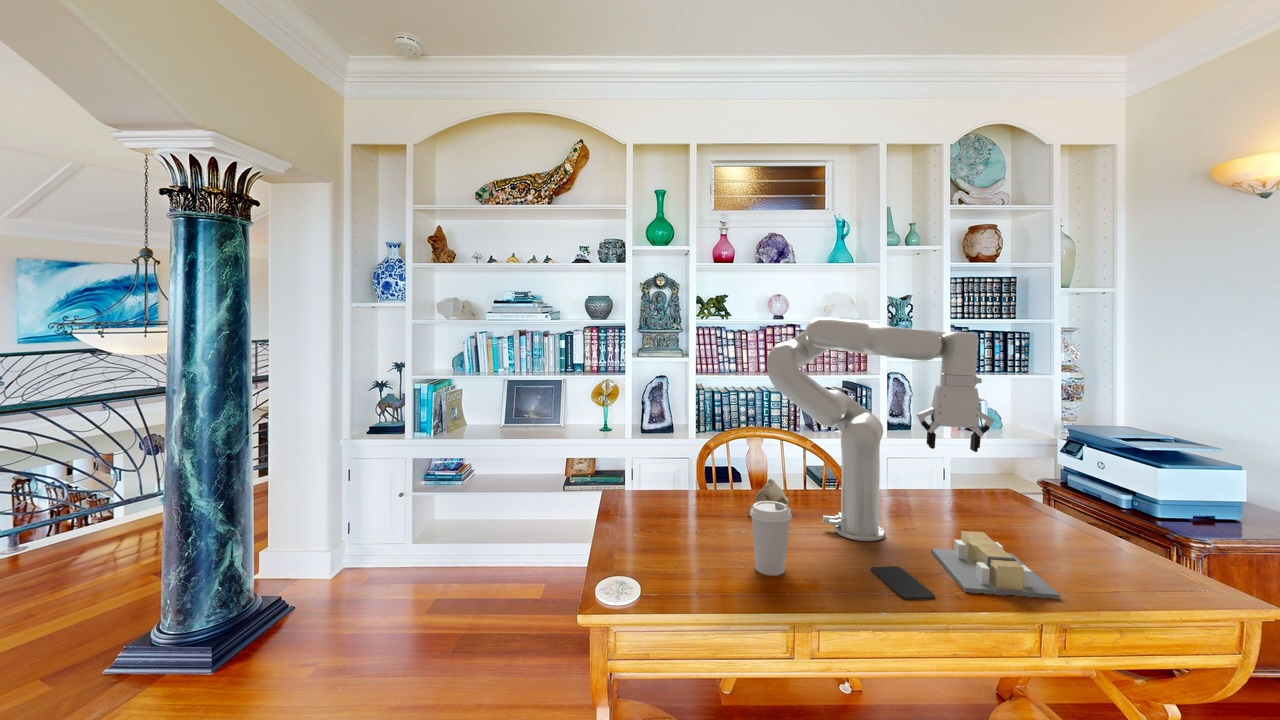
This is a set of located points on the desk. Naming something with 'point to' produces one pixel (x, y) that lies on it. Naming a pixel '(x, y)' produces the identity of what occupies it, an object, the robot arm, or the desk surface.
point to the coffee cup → (770, 536)
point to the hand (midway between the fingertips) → (952, 449)
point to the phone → (902, 583)
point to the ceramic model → (771, 494)
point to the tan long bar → (993, 560)
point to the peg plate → (988, 575)
